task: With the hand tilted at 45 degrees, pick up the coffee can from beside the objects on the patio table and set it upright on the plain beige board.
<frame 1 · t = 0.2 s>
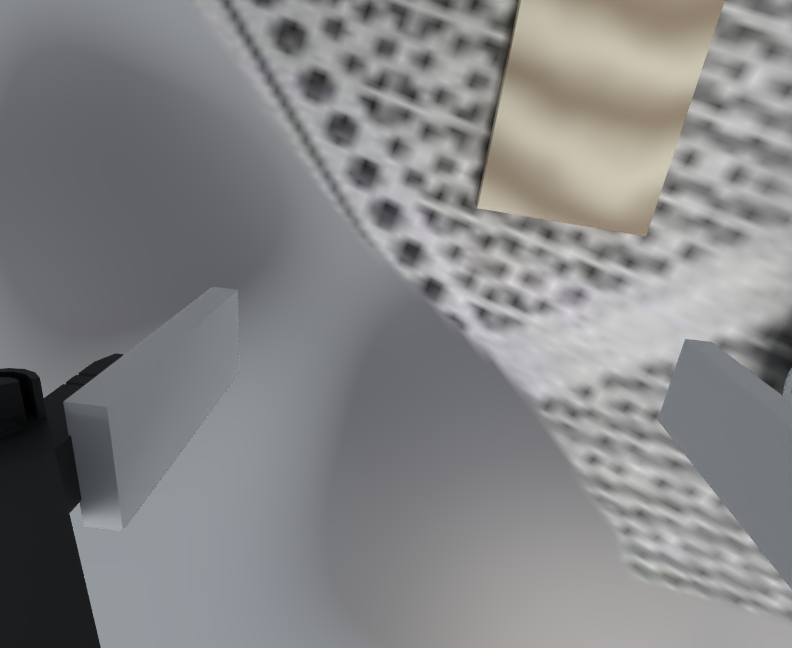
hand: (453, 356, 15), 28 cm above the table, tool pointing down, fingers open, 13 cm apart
plain beige board: (590, 96, 37), on the table
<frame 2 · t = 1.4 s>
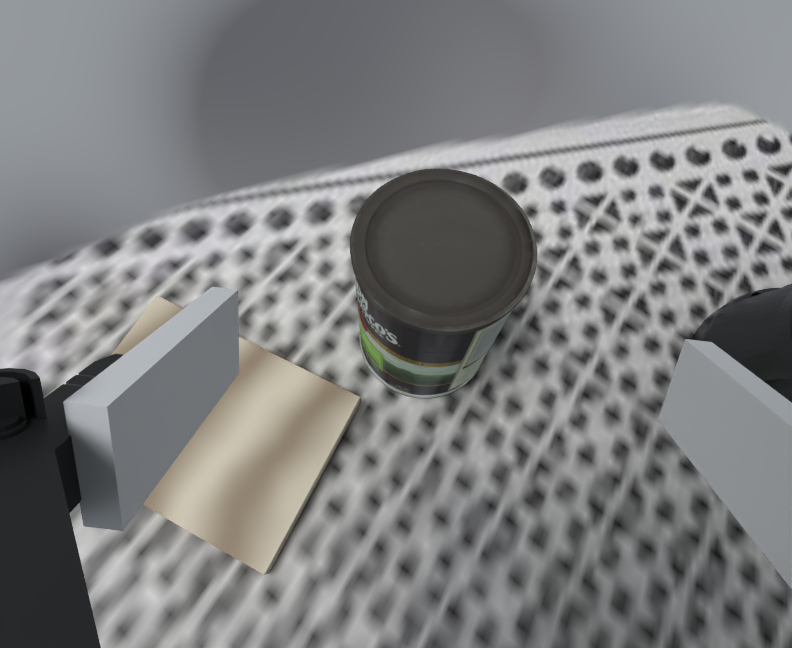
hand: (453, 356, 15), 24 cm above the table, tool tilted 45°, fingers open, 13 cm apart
plain beige board: (211, 425, 38), on the table
coffee can: (423, 337, 41), on the table
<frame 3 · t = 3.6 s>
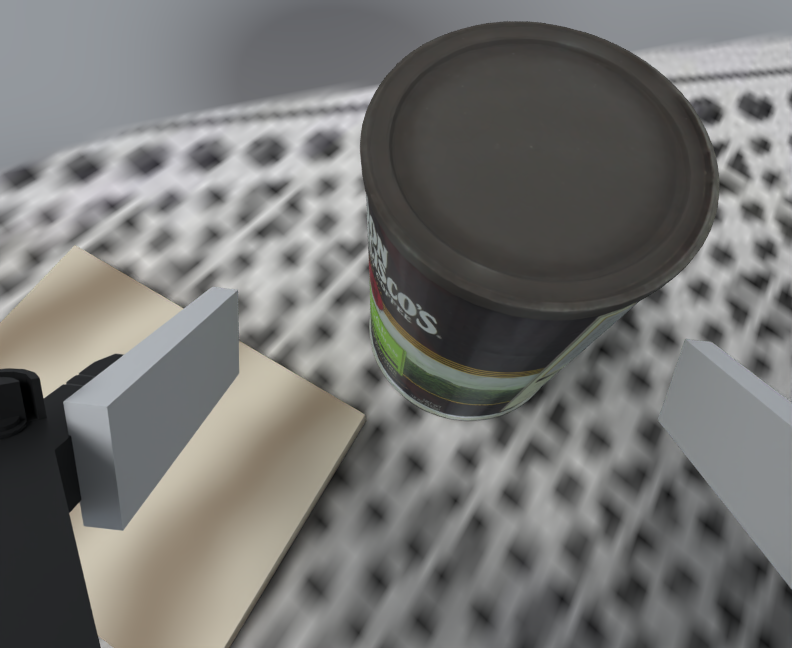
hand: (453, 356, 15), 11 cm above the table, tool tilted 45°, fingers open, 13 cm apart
plain beige board: (137, 443, 25), on the table
coffee can: (464, 329, 28), on the table
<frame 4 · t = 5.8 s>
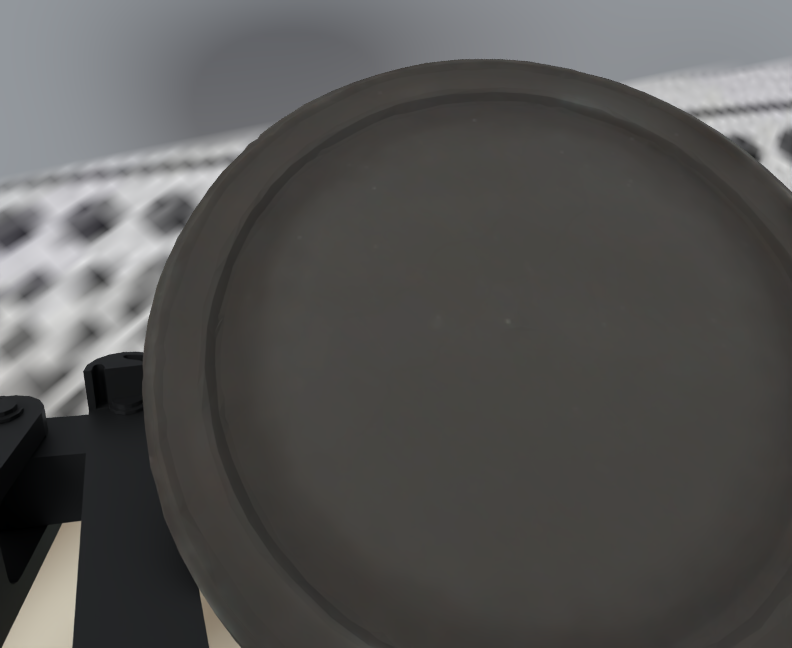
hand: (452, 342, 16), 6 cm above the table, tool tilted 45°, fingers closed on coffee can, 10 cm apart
coffee can: (428, 466, 20), on the table, touching gripper
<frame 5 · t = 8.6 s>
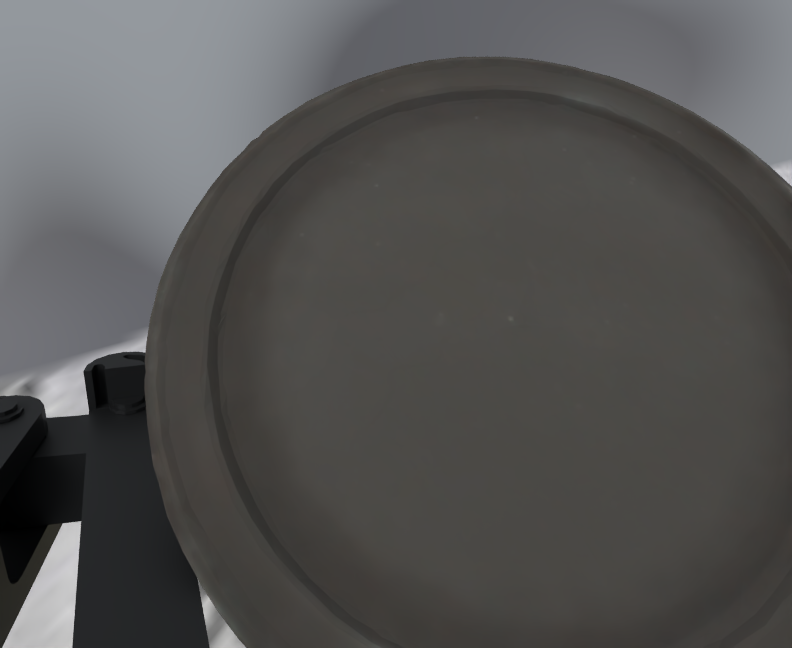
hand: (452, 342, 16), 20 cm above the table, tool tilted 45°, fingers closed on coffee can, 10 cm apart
coffee can: (429, 465, 20), point 15 cm above the table, touching gripper
when the fingers open (8 cm above the table, at t = 11.4 s): coffee can drops 1 cm, resting on plain beige board.
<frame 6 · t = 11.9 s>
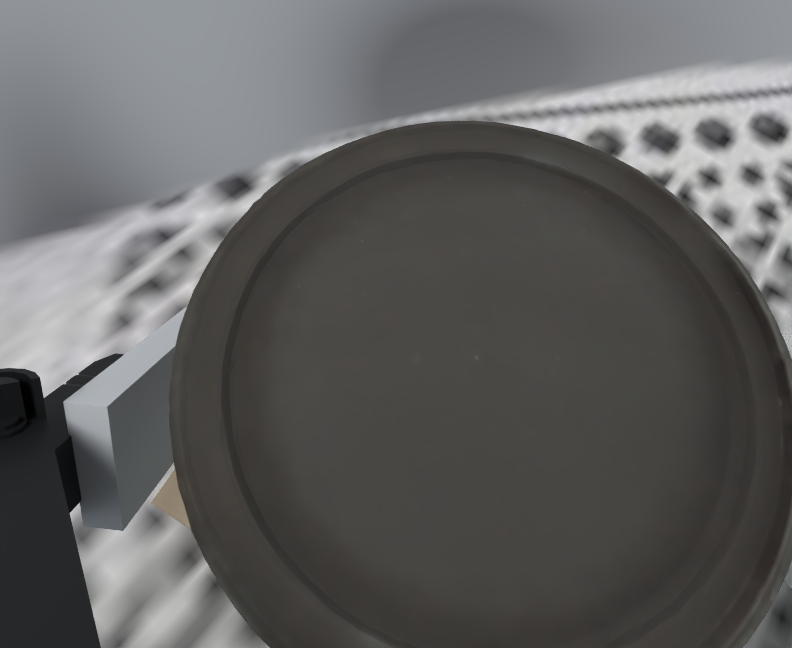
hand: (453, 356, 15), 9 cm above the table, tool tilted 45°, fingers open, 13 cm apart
plain beige board: (422, 474, 23), on the table
coffee can: (420, 470, 21), point 1 cm above the table, touching plain beige board
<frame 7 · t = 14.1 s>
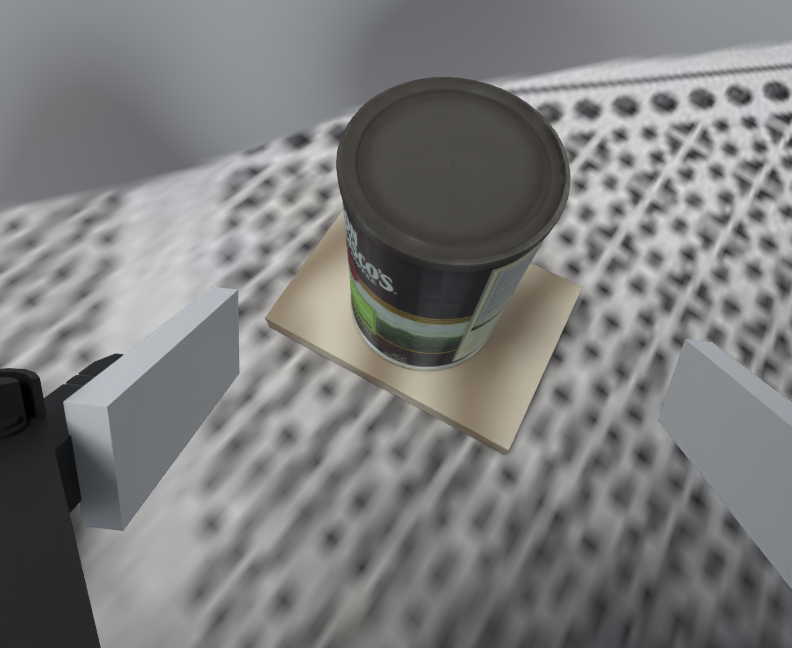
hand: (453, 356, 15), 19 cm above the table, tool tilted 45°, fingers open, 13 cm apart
plain beige board: (425, 311, 37), on the table
coffee can: (425, 303, 35), point 1 cm above the table, touching plain beige board
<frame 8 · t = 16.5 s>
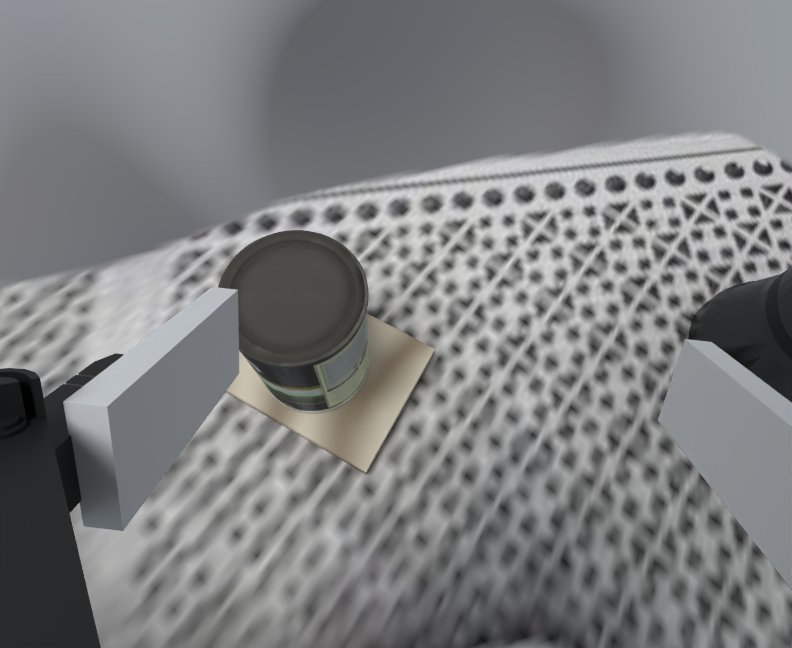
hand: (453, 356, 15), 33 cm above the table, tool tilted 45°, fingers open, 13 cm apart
plain beige board: (319, 366, 49), on the table
coffee can: (316, 361, 48), point 1 cm above the table, touching plain beige board
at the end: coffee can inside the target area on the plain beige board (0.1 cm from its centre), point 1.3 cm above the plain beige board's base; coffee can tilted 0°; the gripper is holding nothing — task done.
